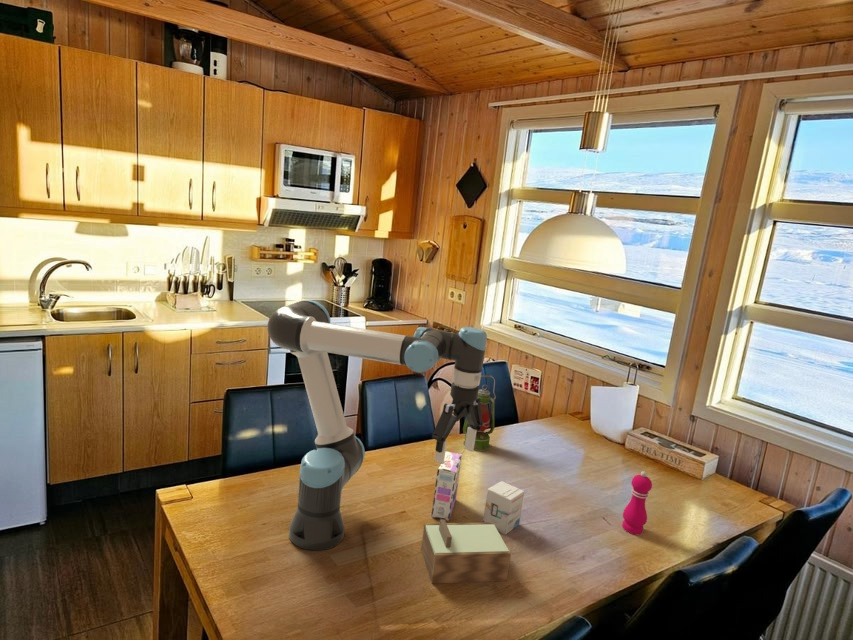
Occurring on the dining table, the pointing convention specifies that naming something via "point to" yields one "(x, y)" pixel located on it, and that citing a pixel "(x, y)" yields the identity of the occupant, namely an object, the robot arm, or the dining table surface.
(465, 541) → the lid
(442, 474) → the candy box
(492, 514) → the ink box
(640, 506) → the pepper mill
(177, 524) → the dining table surface
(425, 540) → the box
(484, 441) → the lantern
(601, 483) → the dining table surface
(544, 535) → the dining table surface
